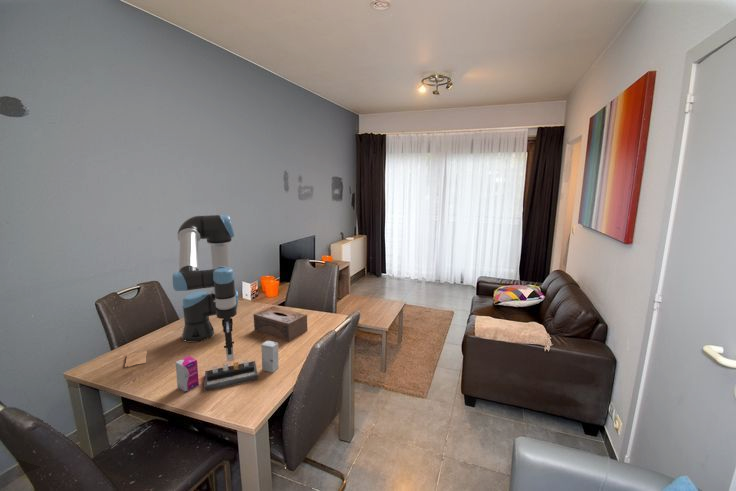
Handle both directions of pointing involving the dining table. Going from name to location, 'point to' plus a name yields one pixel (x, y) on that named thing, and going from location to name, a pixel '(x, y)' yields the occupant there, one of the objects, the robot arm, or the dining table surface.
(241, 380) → the breaker panel
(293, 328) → the tissue box cover
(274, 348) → the skincare box
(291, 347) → the dining table surface
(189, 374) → the supplement box
